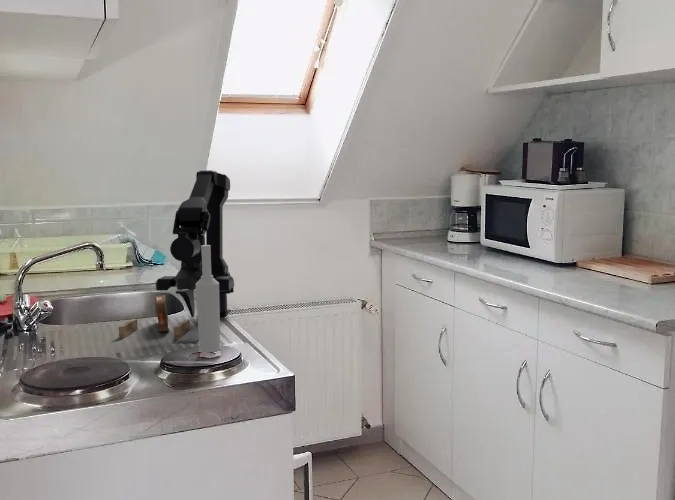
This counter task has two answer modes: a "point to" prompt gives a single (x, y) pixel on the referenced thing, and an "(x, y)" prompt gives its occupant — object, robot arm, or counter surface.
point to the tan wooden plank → (133, 326)
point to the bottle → (208, 306)
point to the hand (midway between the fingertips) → (196, 316)
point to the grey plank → (190, 336)
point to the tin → (162, 313)
